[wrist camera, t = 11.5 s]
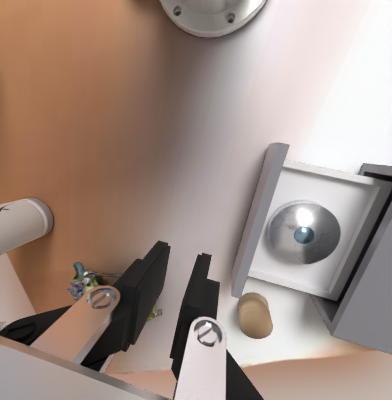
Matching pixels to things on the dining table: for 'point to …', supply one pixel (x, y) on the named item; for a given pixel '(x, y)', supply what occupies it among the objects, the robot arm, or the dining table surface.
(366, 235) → the tray
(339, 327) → the housing
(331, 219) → the disc
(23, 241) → the travel mug
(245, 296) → the stand
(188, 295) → the robot arm
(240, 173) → the dining table surface
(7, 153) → the dining table surface
